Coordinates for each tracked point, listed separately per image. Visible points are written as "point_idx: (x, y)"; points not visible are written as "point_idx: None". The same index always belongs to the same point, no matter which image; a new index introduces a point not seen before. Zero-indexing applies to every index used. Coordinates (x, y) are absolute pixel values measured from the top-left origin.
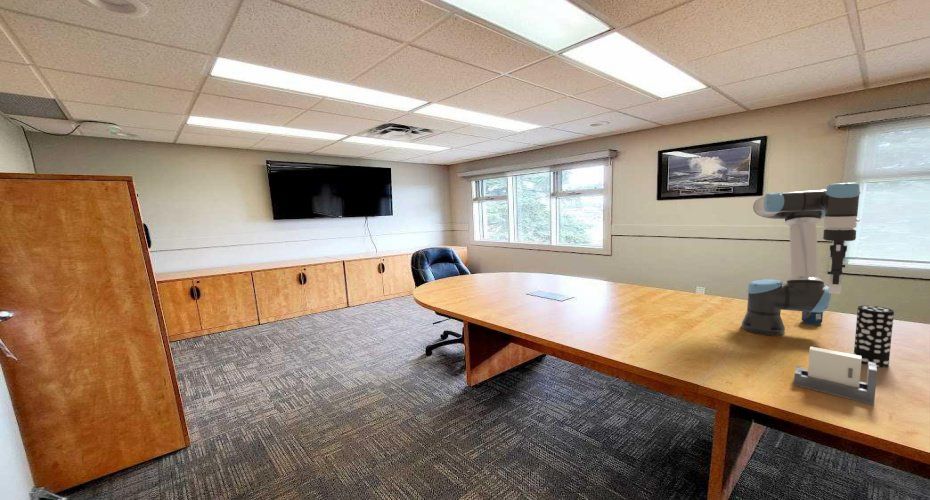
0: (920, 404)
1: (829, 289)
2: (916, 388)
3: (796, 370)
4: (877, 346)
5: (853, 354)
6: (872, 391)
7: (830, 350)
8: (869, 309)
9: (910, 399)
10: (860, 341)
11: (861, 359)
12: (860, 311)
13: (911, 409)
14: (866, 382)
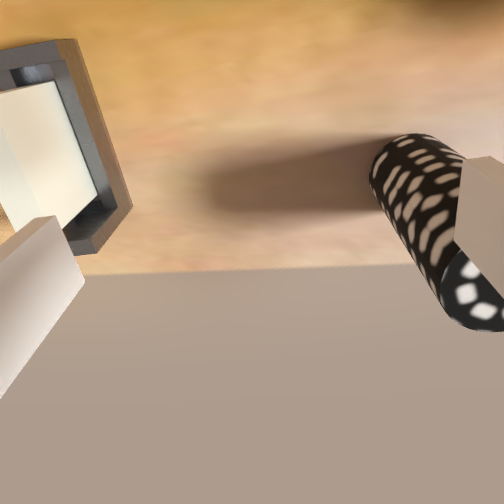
0: (169, 269)
1: (15, 237)
2: (264, 260)
3: (9, 52)
4: (389, 216)
5: None
6: None
7: (14, 162)
8: None
9: (182, 256)
10: (403, 176)
11: None
12: None
13: (125, 260)
14: (109, 209)
